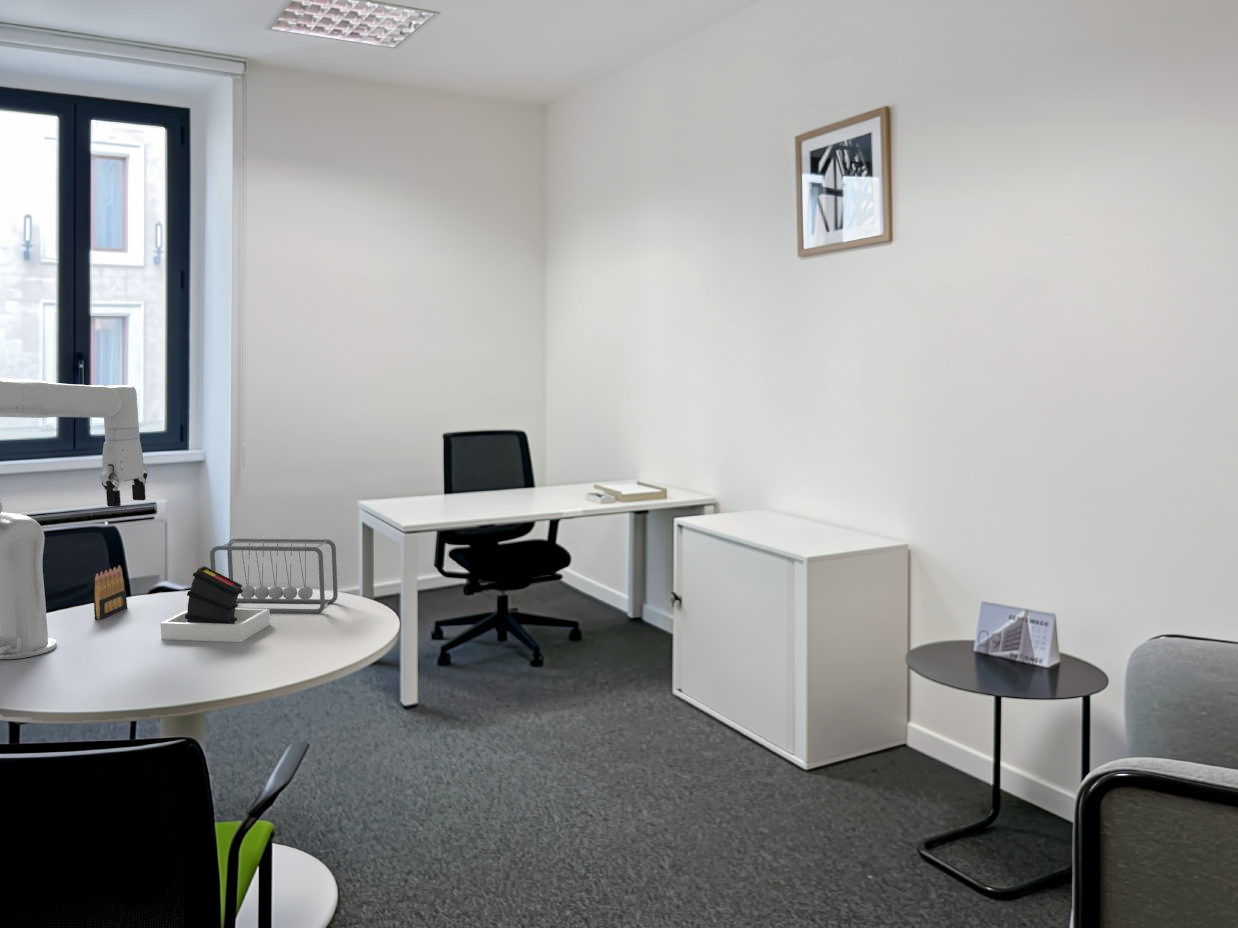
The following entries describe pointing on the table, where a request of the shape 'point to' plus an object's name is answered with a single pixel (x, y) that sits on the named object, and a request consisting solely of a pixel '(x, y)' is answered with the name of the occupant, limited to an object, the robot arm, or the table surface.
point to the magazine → (212, 598)
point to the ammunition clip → (109, 594)
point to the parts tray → (216, 627)
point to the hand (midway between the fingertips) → (126, 503)
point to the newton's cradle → (276, 590)
